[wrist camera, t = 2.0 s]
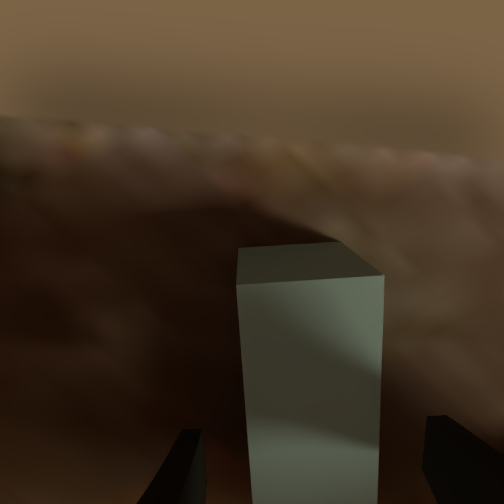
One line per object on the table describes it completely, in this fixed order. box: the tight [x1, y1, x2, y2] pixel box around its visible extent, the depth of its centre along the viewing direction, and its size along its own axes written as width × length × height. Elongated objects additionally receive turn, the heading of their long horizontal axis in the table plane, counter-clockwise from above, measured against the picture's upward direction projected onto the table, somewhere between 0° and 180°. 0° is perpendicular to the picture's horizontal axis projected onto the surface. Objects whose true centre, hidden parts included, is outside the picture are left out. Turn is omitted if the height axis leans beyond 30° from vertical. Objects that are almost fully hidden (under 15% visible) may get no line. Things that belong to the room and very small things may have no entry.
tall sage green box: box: [236, 241, 384, 504], centre depth 14 cm, size 4×11×5 cm, turn 3°
